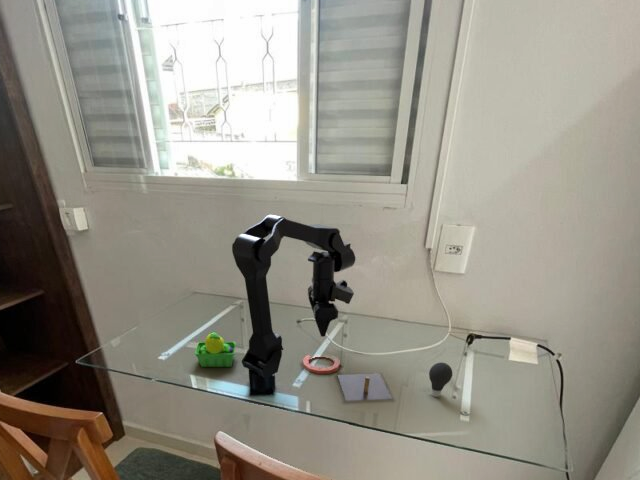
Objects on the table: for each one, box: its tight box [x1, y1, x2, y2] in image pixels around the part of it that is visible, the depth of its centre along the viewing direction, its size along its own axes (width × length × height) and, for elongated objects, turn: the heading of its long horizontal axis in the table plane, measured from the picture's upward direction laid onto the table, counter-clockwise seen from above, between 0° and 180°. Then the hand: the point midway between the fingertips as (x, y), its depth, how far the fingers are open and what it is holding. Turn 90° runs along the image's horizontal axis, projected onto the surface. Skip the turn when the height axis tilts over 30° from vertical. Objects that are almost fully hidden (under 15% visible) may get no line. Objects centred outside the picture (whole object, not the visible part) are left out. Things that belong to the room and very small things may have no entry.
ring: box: [302, 354, 341, 375], centre depth 123 cm, size 11×11×2 cm
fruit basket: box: [194, 332, 236, 368], centre depth 121 cm, size 11×9×11 cm
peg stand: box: [337, 373, 393, 402], centre depth 112 cm, size 12×13×5 cm
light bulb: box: [428, 362, 453, 398], centre depth 107 cm, size 6×6×10 cm
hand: (320, 329), depth 121 cm, fingers open, 9 cm apart
